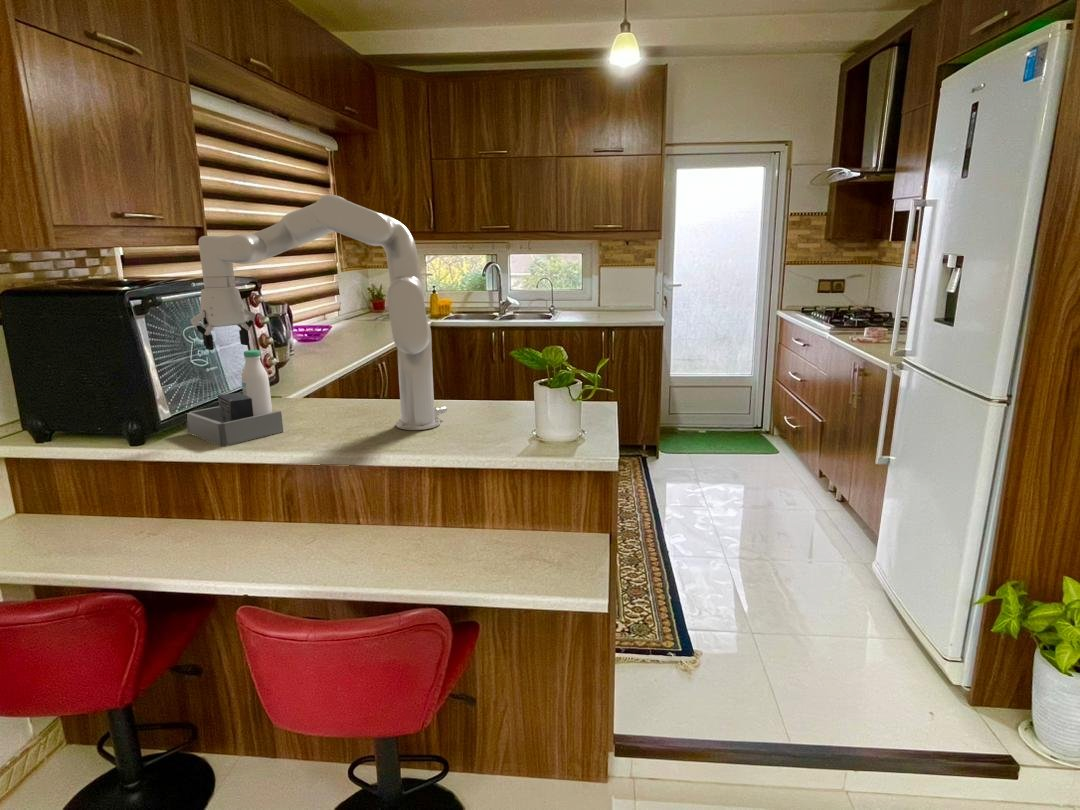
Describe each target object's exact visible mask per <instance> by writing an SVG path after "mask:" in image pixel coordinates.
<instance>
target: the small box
mask: <svg viewBox="0 0 1080 810" xmlns="http://www.w3.org/2000/svg"><path fill="white" fill-rule="evenodd" d="M217 399H218V406H219V407H220V417H221V423H224V422H229V421H234V420H238V419H243V418H248V417H252V416H253V406H252V398H250V397H248V396H246V395H244V394H243V392H234V393H224V394H217Z"/></svg>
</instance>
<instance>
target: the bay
mask: <svg viewBox="0 0 1080 810" xmlns="http://www.w3.org/2000/svg"><path fill="white" fill-rule="evenodd" d="M185 424H186V430H187V433H188V432H189V433H191V434H194V435H196V436H198V437H200V438H199V439H201V438H203V439H202V440H204V439H205V441H206V440H208V441H207V442H209V441H210V442H209V443H212V442H213V443H212V444H214V443H215V445H217V444H218V445H217V446H220V445H221V446H220V447H222V446H224V447H228V446H232V445H236V444H240V442H241V443H245V442H248V440H249V441H253V440H256V438H257V439H260V437H261V438H264V437H263V436H265V437H269V436H272V434H274V435H276V433H278V434H281V433H280V432H282V433H284V425H283V415H282V410H277V411H272V412H271V413H266V414H262V415H257V416H252V417H248V418H243V419H238V420H234V421H229V422H224V423H221V417H220V407H219V405H218V406H217V405H216V406H213V407H207V408H201V409H197V410H193V411H189V413H187V423H186V422H185ZM268 435H269V436H268ZM196 436H195V437H196ZM198 437H197V438H198ZM252 439H253V440H252ZM244 441H245V442H244ZM231 444H232V445H231ZM227 445H228V446H227Z"/></svg>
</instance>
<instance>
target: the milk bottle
mask: <svg viewBox="0 0 1080 810" xmlns="http://www.w3.org/2000/svg"><path fill="white" fill-rule="evenodd" d="M243 356H244V359H245V363H244V367H243V370H242V373H241V388H242V394H244V395H246V396H248V397H250V398H252V406H253V416H257V415H262V414H266V413H271V412H273V406H272V396H271V389H270V388H271V387H270V381H269V375H268V372H267V370H266V369H265V367H264V365H263V364H262V361H261V351H260V350H259V349H249V350H245V351H243Z"/></svg>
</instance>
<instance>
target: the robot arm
mask: <svg viewBox="0 0 1080 810" xmlns="http://www.w3.org/2000/svg"><path fill="white" fill-rule="evenodd" d="M335 232H336V233H338V234H340V235H343V236H344V237H347V238H348V237H349V239H350V238H352V239H353V240H356V241H359V242H361V243H363V244H366V245H368V246H371V247H372V246H374V247H379V246H380V247H382V248H383V250H384V252H385V255H386V256H385V257H386V264H387V265H386V266H387V269H388V276H389V286H388V289H387V293H386V300H387V308H388V315H389V322H390V329H391V334H392V335H391V336H392V339H393V342H394V345H395V346H396V348H397V367H398V368H397V369H398V370H397V371H398V385H399V400H400V401H399V402H400V415H401V416H400V417H401V418H400V419H398V420H397V421H396V423H395V425H396V427H397V428H398V429H401V430H406V431H407V430H408V431H423V430H429V429H430V430H431V429H433V428H437V427H438V426H440V424H441V419H440V418H439V417H438V416H439V415H443V414H445V413H447V412H448V409H447V407H446V406H445V405H444V406H440V407H437V406H435V397H434V376H433V375H434V374H433V352H432V349H433V348H432V347H433V346H432V343H433V341H432V340H433V339H432V329H431V326H430V324H429V322H428V319H427V311H426V305H425V296H426V295H425V293H426V292H425V288H424V284H423V280H422V279H423V278H422V274H421V266H420V262H419V261H420V260H419V256H418V249H417V246H416V245H417V244H416V241H415V239H414V237H413V235H412V232H410V230H409V229H408V228H407V226H406V225H404V224H403V223H402V222H401V221H399V219H398V220H397V219H395V218H394V217H392V216H390V215H387V214H384V213H380V212H377V211H375V210H372V209H370V208H367V207H364V206H362V205H359V204H357V203H354V202H352V201H349V200H348V199H345V198H344V197H342V196H339V195H336V194H325V195H323V196H321V197H319V198H318V199H317V200H316V202H314V203H312V204H310V205H306V206H304V207H302V208H298V209H296V210H294V211H291V212H289V213H286V214H284V216H283V217H282V218H281V219H280V220H279V221H278V222H277V223H274V224H273V225H270V226H269V227H265V228H263V229H261V230H258V231H256V232H254V233H253V232H252V233H250V234H249V233H248V234H240V233H239V234H234V235H202V236H200V237H199V239H198V249H199V257H200V262H201V263H200V264H201V271H202V279H203V280H202V281H203V286H204V287H203V288H204V289H203V288H202V289H201V290H200V312H199V313H197V314H196V315H194V316H193V317H192V318H190V320H189V321H190V323H191V325H192V326H193V327H194V329H195V330H196V331H197V332H199V333H200V335H202V341H203V346H204V347H205V349H206V350H207V351H208V350H209V351H213V350H214V349H215V348H214V347H215V346H214V340H213V335H212V334H211V333H212V331H213V329H214V328H220V327H231V326H237V327H239V331H238V335H239V342H240V345H242V346H249V342H250V336H249V331H250V329H251V327H252V326H253V324H254V321H255V318H256V313H255V312H253V311H250V310H248V309H245V308H244V304H243V300H242V297H241V294H240V290H239V288H238V287H236V286H237V284H239V283H240V278H238V277H235V272H234V265H233V264H240V265H241V264H242V265H247V264H255V263H256V264H257V263H259V262H263V261H265V260H267V259H270V258H272V257H275V256H278V255H280V254H282V253H284V252H285V253H286V252H287V251H290V250H292V249H295V248H299V247H301V246H303V245H305V244H308V243H310V242H312V241H313V242H314V241H315V240H317V239H320V238H322V237H325V236H327V235H331V234H333V233H335ZM245 315H246V316H247V320H246V316H245ZM200 321H201V324H202V325H203V326H202V325H201V324H200Z"/></svg>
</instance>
